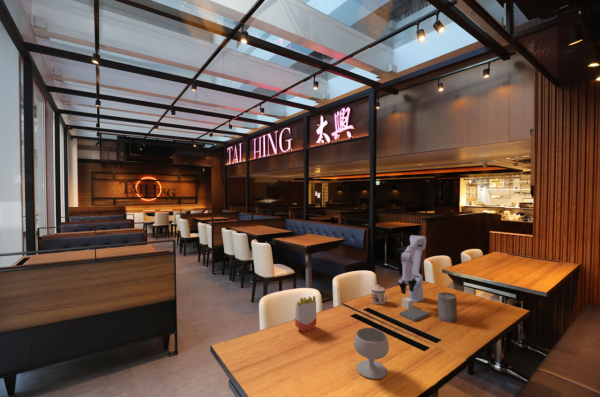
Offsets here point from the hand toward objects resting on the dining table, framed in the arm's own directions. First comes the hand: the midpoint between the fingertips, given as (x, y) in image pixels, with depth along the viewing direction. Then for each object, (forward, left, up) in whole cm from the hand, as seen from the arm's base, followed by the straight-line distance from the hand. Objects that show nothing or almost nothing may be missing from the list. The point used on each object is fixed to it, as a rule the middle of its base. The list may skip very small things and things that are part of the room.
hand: (407, 292), depth 176 cm
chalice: (+66, +32, -10) cm, 74 cm away
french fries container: (+70, -12, -10) cm, 72 cm away
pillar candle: (-5, +23, -10) cm, 25 cm away
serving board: (+7, +10, -9) cm, 15 cm away
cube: (0, 0, -9) cm, 9 cm away
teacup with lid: (+10, -14, -10) cm, 20 cm away
